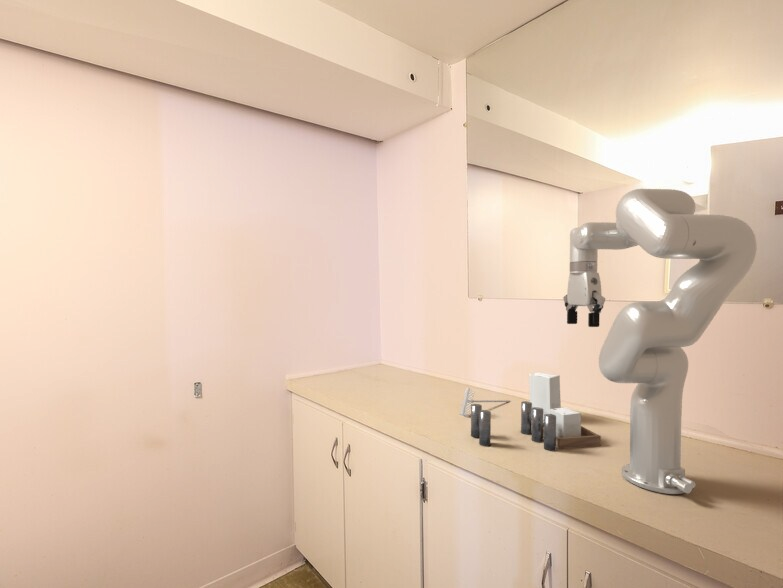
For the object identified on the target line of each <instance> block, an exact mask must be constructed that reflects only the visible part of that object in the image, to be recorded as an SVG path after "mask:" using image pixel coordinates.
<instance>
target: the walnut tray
mask: <svg viewBox="0 0 783 588" xmlns="http://www.w3.org/2000/svg"><path fill="white" fill-rule="evenodd" d="M601 437H602V436H601V434H597V433H596V432H595V431H592V430H590V429H588V428H586V427H585V426H582V425H581V436H578V437H564V438H560V437H558V436H557V435H556V448H558V449H571V448H584V447H587V448H588V447H597V446H600V447H601V442H602V439H601ZM543 439H544V422H543Z"/></svg>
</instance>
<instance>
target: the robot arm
mask: <svg viewBox="0 0 783 588" xmlns="http://www.w3.org/2000/svg"><path fill="white" fill-rule="evenodd" d="M695 212H696V202H695V200H694V199H693V197H692V196H691V195H690V194H688V193H687V192H684V191H683V190H679V189H671V188H667V189H664V188H662V189H661V188H635V189H633V190H630V191H628V192H627V193H625V194H624V195H623V196H622V197H621V198H620V199H619V201H618V203H617V204H616V208H615V218H616V219H615V222H603V221H602V222H590V221H589V222H586V223H585V222H584V223H583V224H582V225H580V226H579V227H575V228H572V229H571V230H570V232H569V276H568V281H567V282H568V283H567V291H566V294H565V295H564V296H563V297H562V298H563V301H564V306H565V311H566V320H567V321H566V323H567V325H576V324H578V311H577V309H578V307H587V309H588V311H589V312H588V316H587V317H588V319H587V323H588V324H587V325H588V327H589V328H598V327H600V314H601V313H602V310H603V308H604V305H605V302H606V297H605V296H603V294H602V285H601V283H602V282H601V277H600V273H599V272H598V250H617V251H618V250H626V249H630V248H633V247H637V246H639V247H640V248H641V249H642V250H643V251H645V252H646V253H647V254H649V255H651V256H652V257H655V258H657V259H666V260H667V259H668V260H669V259H670V260H671V259H672V260H675V259H676V260H692V259H693V260H695V259H696V260H699V261H698V262H697V263H696V264H694V265H693V266H692V267H690V268H689V269H687V270H686V271H684V272H683V273H682V274H681V275H680V276H679V277H678V278H677V280H675V282H674V283H673V285H672V287H671V289H670V291H669V292H668V293H667V295H666V297H665V298H664V299H662V300H659V301H658V300H657V301H636V302H632V303H629V304H627V305H625V306H624V307H623V308H621V310H620V311H619V312H618V314H617V315H616V317H615V319H614V321H613V323H612V326H611V327H610V330H609V331H608V334H607V335H606V337H605V340H604V341H603V344H602V346H601V348H600V352H599V355H598V356H599V357H598V367H599V370H600V373H601V374H602V376H603V377H604V378H606V379H607V380H608V381H611V382H613V383H617V384H637V385H636V386H635V387H634V389H633V391H632V394H631V398H630V407H629V410H630V415H629V416H630V417H629V420H630V421H629V422H630V423H629V425H630V426H629V463H626V464H624V465H623V466H622V467H621V474H622V476H623V478H625V480H627V481H628V482H629V483H631V484H632V485H633V484H634V485H635V486H637V487H640V488H643V489H644V490H648V491H651V492H655V493H660V494H668V495H680V494H690V493H691V492H692V490H693V489H694V488H695V487H696V482H695V481H694V480H691V479H690V478H687V477H686V469H685V468H683V467H681V466H682V465H681V464H682V463H681V462H682V461H681V460H682V458H681V457H682V448H681V447H682V416H683V415H682V409H683V395H684V394H683V392H684V387H685V382H686V379H687V376H688V372H689V359H688V356H687V353H686V352H685V350H684V349H683V348H684V347H685V348H686V347H690V346H693V345H695V343H697V342H698V341H699V340H700V338H701V337H702V336H703V334H704V333H705V331H706V330H707V328H708V327H709V325H710V324H711V323H712V321H713V320H714V318H715V317H716V315H717V313H718V312H719V310H720V309H721V308H722V306H723V304H724V302H725V301H726V300H727V298H728V297H729V296H730V295H731V293H732V292H733V291H734V290H735V289H736V287H737V286H738V285H739V284H740V282H742V280H743V279H744V278H745V277H746V275H747V274H748V273H749V271H750V269H751V267H752V266H753V264H754V261H755V258H756V255H757V250H758V249H757V238H756V235H755V233H754V230H753V229H752V228H751V226H750V224H748V223H747V222H746V221H743V220H742V219H740V218H737V217H734V216H729V215H724V214H723V215H722V214H698V213H697V214H695Z"/></svg>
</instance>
